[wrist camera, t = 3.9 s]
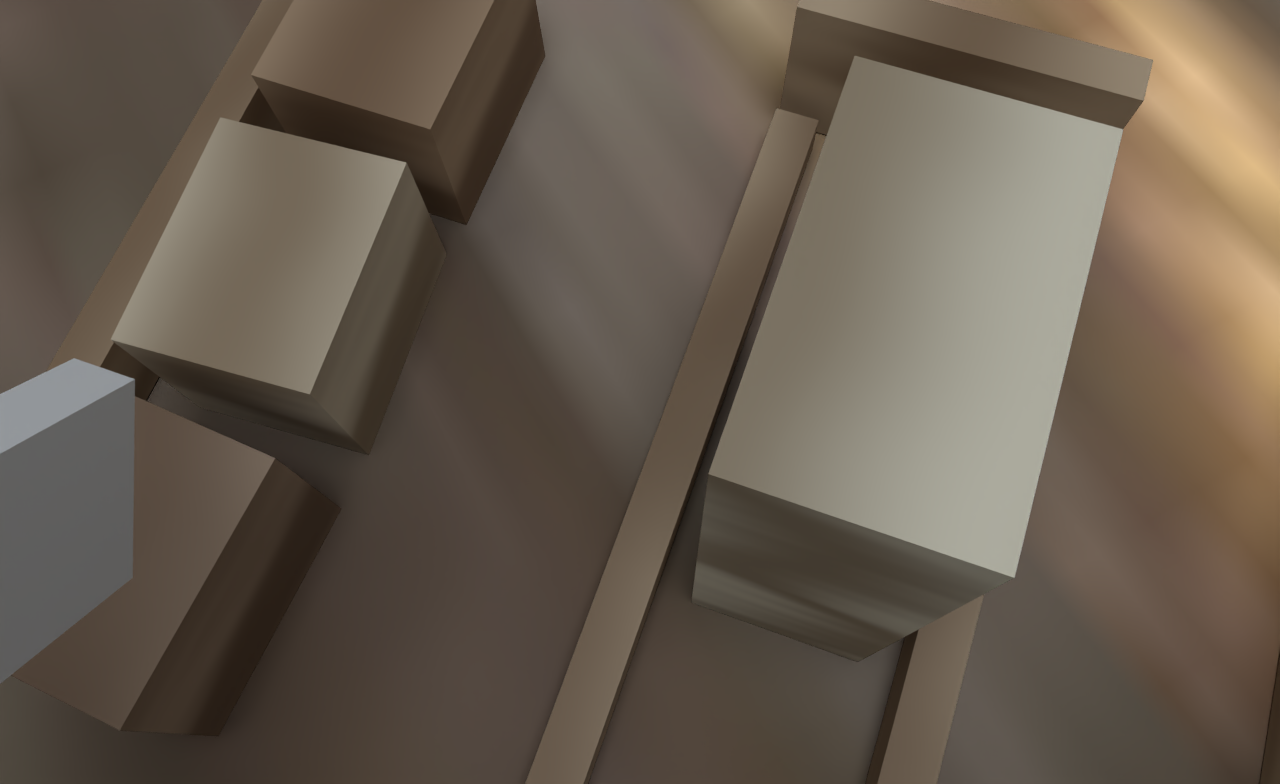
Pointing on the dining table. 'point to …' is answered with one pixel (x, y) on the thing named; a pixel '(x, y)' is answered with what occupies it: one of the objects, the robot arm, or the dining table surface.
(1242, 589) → the dining table surface
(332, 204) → the offcut block
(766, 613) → the tall beige block
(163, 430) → the offcut block
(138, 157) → the dining table surface
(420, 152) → the offcut block
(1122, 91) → the oak rack
